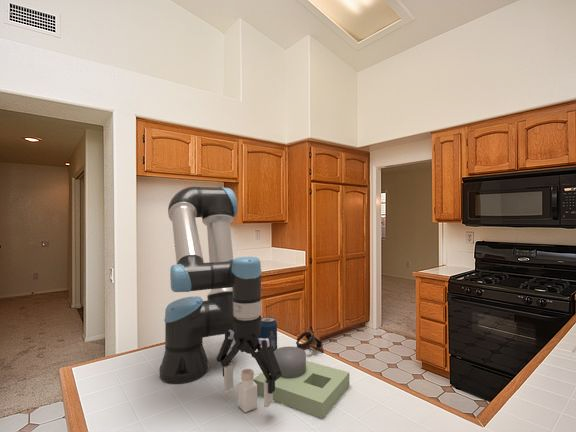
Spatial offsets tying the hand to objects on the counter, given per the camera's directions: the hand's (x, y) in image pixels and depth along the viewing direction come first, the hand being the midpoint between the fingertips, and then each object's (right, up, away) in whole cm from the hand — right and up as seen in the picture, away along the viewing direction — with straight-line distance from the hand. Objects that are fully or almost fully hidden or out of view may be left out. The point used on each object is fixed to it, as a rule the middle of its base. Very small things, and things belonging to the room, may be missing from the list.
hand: (247, 396), depth 83 cm
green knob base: (+15, -3, +8) cm, 17 cm away
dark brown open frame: (+19, -3, +35) cm, 40 cm away
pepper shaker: (0, -3, 0) cm, 3 cm away
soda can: (+3, -3, +35) cm, 35 cm away
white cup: (-10, -3, +41) cm, 42 cm away
